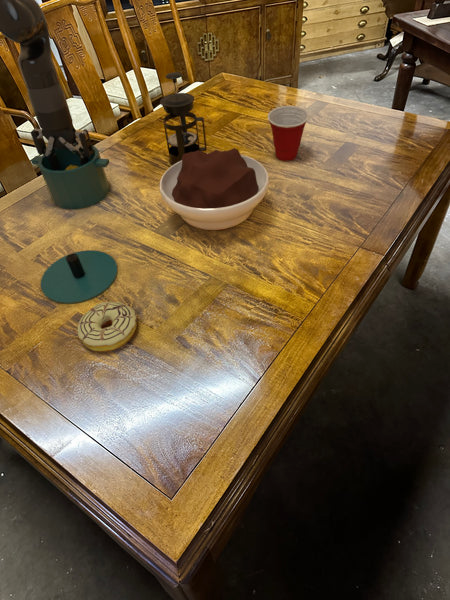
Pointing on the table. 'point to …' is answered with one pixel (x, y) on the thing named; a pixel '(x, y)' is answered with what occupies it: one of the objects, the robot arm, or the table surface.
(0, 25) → the robot arm
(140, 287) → the table surface
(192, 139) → the french press
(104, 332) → the decorated donut
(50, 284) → the lid
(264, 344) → the table surface
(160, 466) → the table surface
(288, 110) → the plastic cup
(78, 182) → the pot
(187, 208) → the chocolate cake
